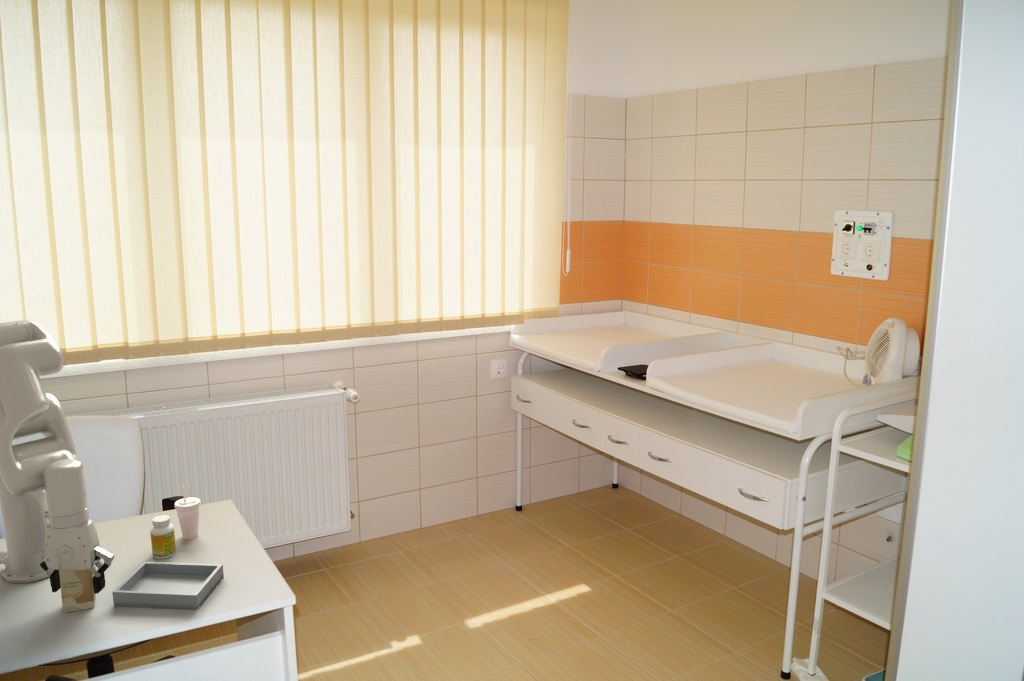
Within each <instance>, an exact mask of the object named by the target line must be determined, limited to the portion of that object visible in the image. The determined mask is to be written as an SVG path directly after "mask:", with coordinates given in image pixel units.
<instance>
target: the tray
mask: <svg viewBox="0 0 1024 681" xmlns="http://www.w3.org/2000/svg"><path fill="white" fill-rule="evenodd" d="M222 579H223V580H224V565H223V563H222V564H221V563H220V564H219V563H196V562H195V563H194V562H193V563H192V562H191V563H190V562H169V561H166V562H164V561H143V562H142V563H141V564H140V565H139V566H138V567H137V568H136V569H134V571H133V572H132V573H131V574H129V576H127V577H126V579H124V580H123V581H122V582H121V583H120V584H119V585H118V586H117V587H116V588H115V589H114V590H113V591H112V594H111V595H112V602H113V607H119V608H121V607H122V608H142V609H143V608H144V609H173V610H174V609H175V610H192V609H198V610H199V609H200V608H201V607H202V605H203V604H205V602H206V601H207V599H208V598H209V597H210V596H211V594H212V593H213V592H214V591H215V589H216V588H217V587H218V586H219V584H220V583H221V582H222V581H223V580H222ZM221 580H222V581H221ZM217 585H218V586H217ZM216 586H217V587H216ZM213 590H214V591H213ZM209 595H210V596H209ZM205 600H206V601H205ZM204 601H205V602H204ZM200 606H201V607H200ZM199 607H200V608H199Z"/></svg>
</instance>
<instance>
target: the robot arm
mask: <svg viewBox="0 0 1024 681" xmlns="http://www.w3.org/2000/svg"><path fill="white" fill-rule="evenodd" d="M64 362H65V361H64V356H63V352H62V349H61V347H59V344H58V342H56V340H55V339H54V338H53V337H52V335H50V333H48V332H47V331H46V330H45V329H44V328H43V327H42V326H41V325H40V324H38V323H37V322H36V321H33V320H29V319H28V320H27V319H25V320H24V319H23V320H16V321H15V320H14V321H13V320H12V321H8V322H1V323H0V509H1V510H0V511H1V516H2V523H3V530H4V536H5V545H6V551H0V565H4V569H3V571H2V577H3V580H5V581H6V582H8V583H13V584H26V583H25V582H27V583H33V582H36V581H37V582H38V581H40V579H41V580H43V579H46V577H47V578H48V577H49V584H50V586H51V592H52V593H56V592H58V591H60V590H61V586H60V575H59V564H58V562H61V565H62V570H71V571H86V570H90V571H91V572H92V574H93V575H94V577H93V578H92V582H93V590H94V593H95V595H97V594H99V593H100V592H101V591H102V590H103V589H105V587H106V576H105V572H106V571H107V570H108V569H109V568H110V567H111V565H112V563H113V562H114V559H115V555H114V554H113V553H110V552H109V551H107V550H106V549H104V548H101V544H100V540H99V539H100V538H99V536H98V531H97V528H96V525H95V523H94V520H93V519H91V517H90V508H89V501H88V500H89V499H88V492H87V485H86V484H87V483H86V477H85V468H84V464H83V463H82V462H81V461H80V460H78V453H77V449H76V445H75V443H74V440H73V437H72V433H71V431H70V427H69V424H68V421H67V420H68V419H67V418H66V415H65V411H64V408H63V406H62V404H61V402H60V400H59V399H58V398H57V397H56V396H55V395H53V394H52V393H49V392H46V391H45V389H44V386H43V383H42V380H41V377H45V376H51V375H55V374H58V373H60V372H61V371H62V369H63V368H64ZM39 434H41V435H43V436H44V437H43V438H38V439H34V440H30V441H25V442H21V443H17V444H13V440H18V439H22V438H27V437H30V436H34V435H39ZM44 490H45V492H44ZM101 559H102V560H103V562H102V561H101Z"/></svg>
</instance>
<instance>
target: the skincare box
mask: <svg viewBox="0 0 1024 681" xmlns="http://www.w3.org/2000/svg"><path fill="white" fill-rule="evenodd" d="M58 564H59V575H60V586H61V588H60V595H61V605H62V613H70V612H76V611H83V610H87V609H92V608H95V605H96V600H97V596H96V595H97V594H95V593H94V590H93V582H92V578H93V577H94V575H93V574H92V572H91V571H90V570H86V571H71V570H62V565H61V562H58Z"/></svg>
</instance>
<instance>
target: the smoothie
mask: <svg viewBox="0 0 1024 681" xmlns="http://www.w3.org/2000/svg"><path fill="white" fill-rule="evenodd" d="M182 492H183V498H180V499H178V500H176V501H175V502H174V509H175V510H176V513H177V518H178V522H179V527H180V532H181V535H182V538H183V539H184V540H192V539H196V538H197V537H199V523H200V521H199V520H200V506H201V505H202V503H201V501H202V500H201V499H200V498H199V497H196V496H195V497H194V496H188V497H187V493H186V486H185V485H182ZM195 537H196V538H195Z"/></svg>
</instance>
